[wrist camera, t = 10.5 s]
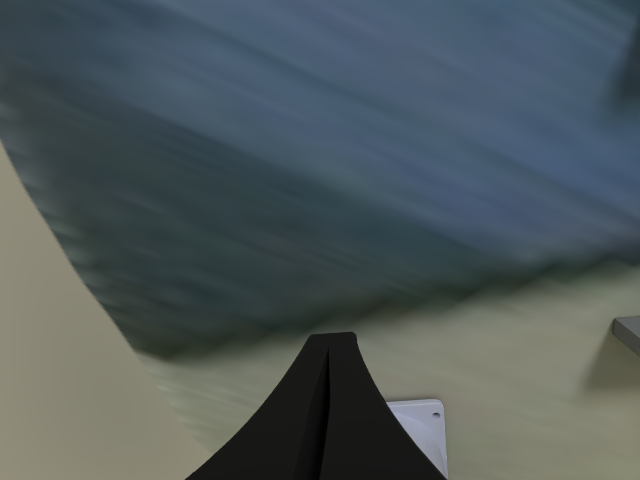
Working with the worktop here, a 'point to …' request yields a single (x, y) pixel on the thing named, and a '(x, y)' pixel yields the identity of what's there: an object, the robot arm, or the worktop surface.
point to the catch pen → (628, 332)
